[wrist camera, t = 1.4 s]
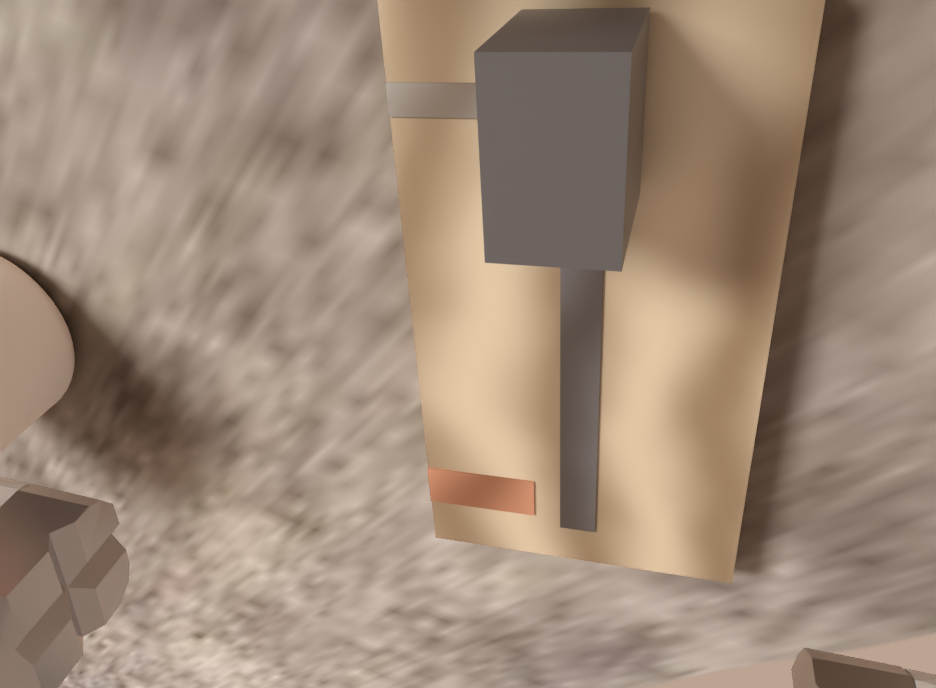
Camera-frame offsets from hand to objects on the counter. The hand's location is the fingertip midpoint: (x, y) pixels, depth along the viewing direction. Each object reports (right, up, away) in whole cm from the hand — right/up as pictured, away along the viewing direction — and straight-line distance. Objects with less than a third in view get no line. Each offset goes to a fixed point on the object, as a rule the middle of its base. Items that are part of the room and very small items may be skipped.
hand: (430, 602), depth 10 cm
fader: (+4, +11, +17) cm, 21 cm away
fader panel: (+5, +5, +24) cm, 25 cm away
